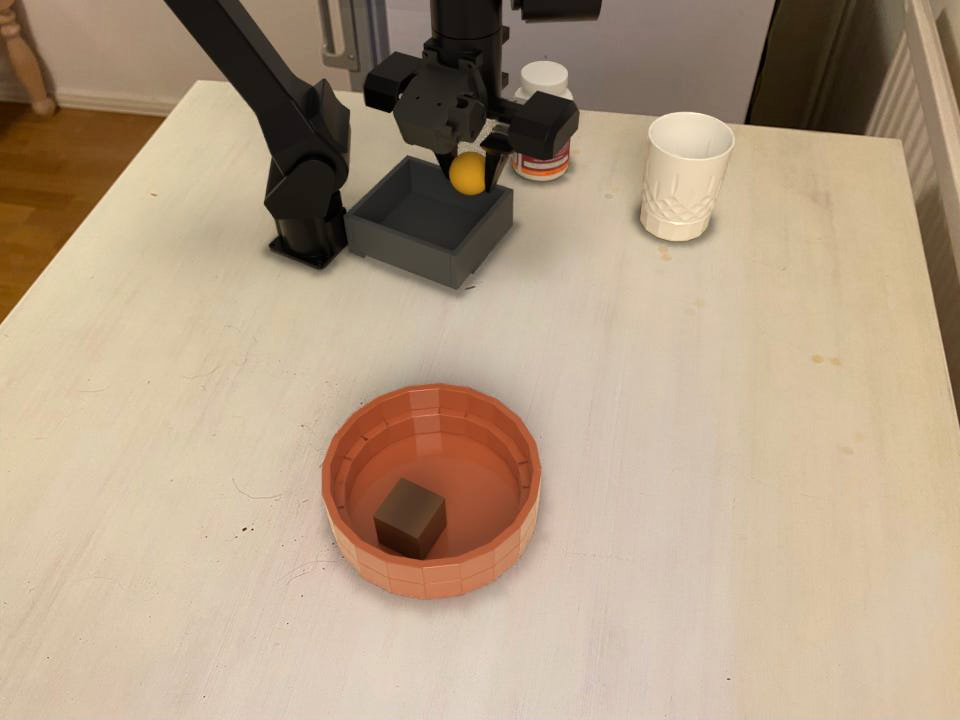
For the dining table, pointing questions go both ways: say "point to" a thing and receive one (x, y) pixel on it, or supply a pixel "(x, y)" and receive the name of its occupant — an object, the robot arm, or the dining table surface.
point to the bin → (428, 223)
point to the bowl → (435, 486)
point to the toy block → (410, 519)
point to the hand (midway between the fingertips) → (470, 184)
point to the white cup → (683, 173)
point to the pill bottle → (532, 79)
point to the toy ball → (468, 173)
